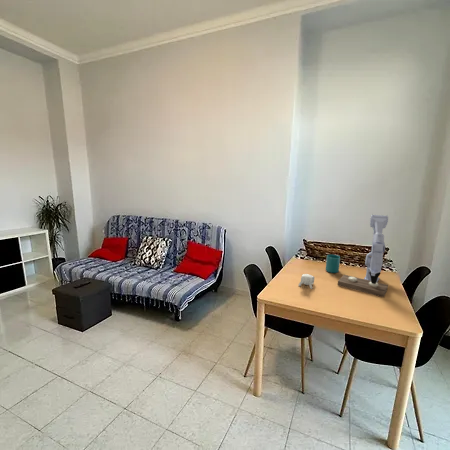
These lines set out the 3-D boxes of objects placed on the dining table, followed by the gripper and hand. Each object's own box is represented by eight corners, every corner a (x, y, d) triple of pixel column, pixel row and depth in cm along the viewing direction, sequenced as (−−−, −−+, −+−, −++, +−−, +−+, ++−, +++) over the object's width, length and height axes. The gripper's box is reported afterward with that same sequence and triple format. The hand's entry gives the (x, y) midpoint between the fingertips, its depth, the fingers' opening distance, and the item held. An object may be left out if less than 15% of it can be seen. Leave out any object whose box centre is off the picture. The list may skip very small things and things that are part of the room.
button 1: (348, 282, 177) (349, 276, 176) (357, 284, 174) (357, 278, 173) (346, 284, 173) (347, 278, 172) (355, 286, 170) (355, 280, 169)
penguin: (301, 286, 178) (296, 285, 165) (303, 273, 179) (298, 272, 166) (314, 288, 174) (310, 288, 161) (316, 275, 175) (312, 274, 162)
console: (343, 278, 183) (344, 274, 183) (387, 289, 167) (388, 284, 167) (337, 285, 172) (337, 280, 172) (383, 297, 157) (384, 292, 156)
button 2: (369, 287, 170) (369, 280, 169) (378, 289, 166) (378, 283, 166) (367, 289, 166) (368, 283, 165) (376, 292, 163) (377, 285, 162)
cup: (339, 268, 201) (341, 254, 199) (337, 274, 191) (339, 259, 189) (327, 266, 206) (328, 252, 203) (324, 271, 195) (325, 257, 193)
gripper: (371, 258, 171) (368, 278, 173) (366, 264, 159) (363, 285, 162) (384, 260, 166) (381, 281, 169) (379, 266, 155) (376, 288, 158)
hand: (373, 283), depth 165 cm, fingers closed, pressing on button 2
